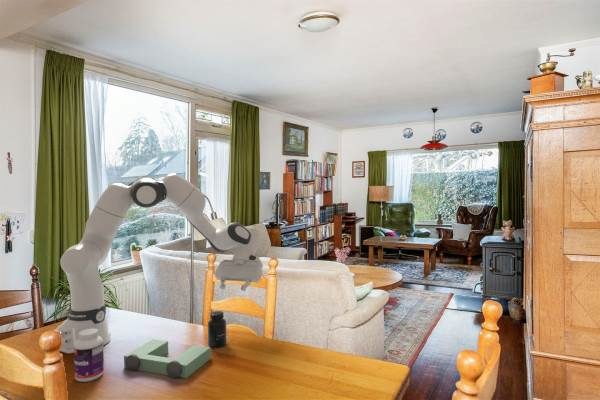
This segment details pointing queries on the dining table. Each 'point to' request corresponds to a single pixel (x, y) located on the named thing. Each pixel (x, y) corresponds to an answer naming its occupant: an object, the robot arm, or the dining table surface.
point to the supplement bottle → (217, 330)
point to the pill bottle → (88, 356)
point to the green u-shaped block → (166, 359)
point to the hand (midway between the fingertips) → (232, 289)
